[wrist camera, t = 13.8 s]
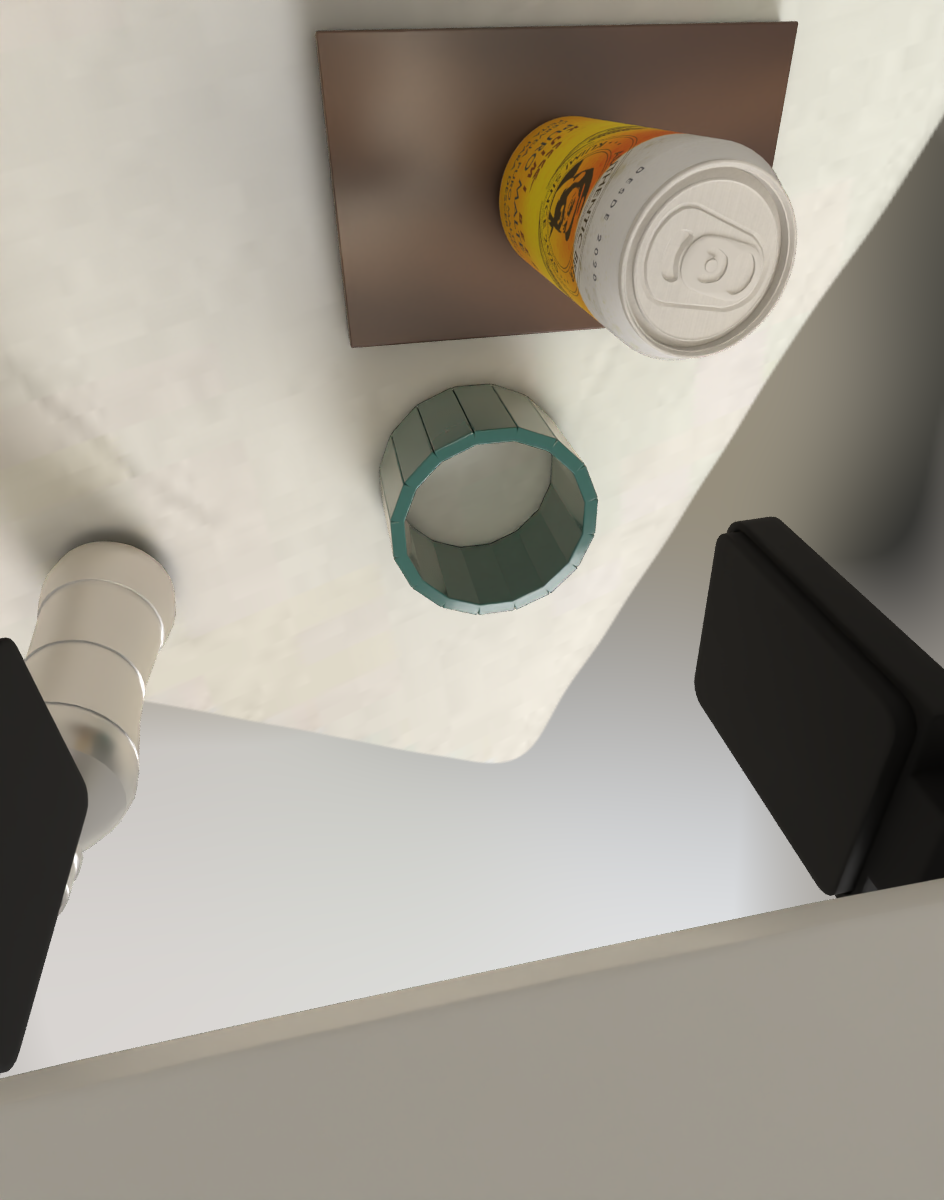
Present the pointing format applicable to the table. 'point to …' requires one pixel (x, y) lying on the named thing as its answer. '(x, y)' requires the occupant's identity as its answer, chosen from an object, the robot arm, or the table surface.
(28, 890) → the robot arm
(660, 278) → the beer can
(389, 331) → the board
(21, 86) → the table surface
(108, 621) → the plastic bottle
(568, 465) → the crock
